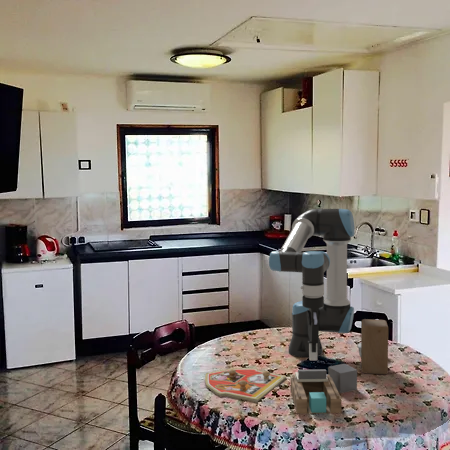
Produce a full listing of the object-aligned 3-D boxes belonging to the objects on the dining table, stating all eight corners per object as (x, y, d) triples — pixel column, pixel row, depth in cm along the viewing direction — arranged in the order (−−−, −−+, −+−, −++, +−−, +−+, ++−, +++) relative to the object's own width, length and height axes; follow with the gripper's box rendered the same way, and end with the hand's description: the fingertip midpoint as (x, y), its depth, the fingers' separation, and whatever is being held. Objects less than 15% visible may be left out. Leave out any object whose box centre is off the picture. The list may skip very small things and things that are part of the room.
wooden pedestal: (290, 392, 205) (290, 375, 204) (331, 391, 204) (331, 374, 204) (296, 415, 186) (296, 396, 185) (341, 414, 185) (341, 395, 185)
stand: (328, 387, 208) (328, 366, 208) (344, 383, 211) (344, 363, 211) (340, 394, 202) (340, 373, 201) (356, 390, 205) (357, 369, 204)
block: (309, 406, 191) (309, 392, 191) (323, 406, 191) (323, 392, 190) (311, 412, 186) (311, 398, 186) (326, 412, 186) (326, 398, 185)
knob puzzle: (256, 405, 195) (256, 393, 194) (186, 390, 209) (185, 379, 208) (288, 377, 220) (288, 366, 219) (223, 365, 234) (223, 355, 234)
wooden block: (387, 375, 219) (388, 326, 217) (361, 374, 221) (362, 325, 219) (385, 366, 229) (386, 319, 227) (360, 365, 231) (361, 318, 229)
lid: (295, 374, 207) (295, 364, 206) (324, 374, 206) (324, 363, 206) (297, 381, 200) (297, 371, 199) (327, 381, 200) (327, 370, 199)
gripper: (300, 291, 202) (300, 353, 204) (304, 300, 189) (305, 366, 192) (320, 290, 201) (320, 353, 204) (326, 300, 188) (326, 366, 191)
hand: (313, 359), depth 198 cm, fingers closed
